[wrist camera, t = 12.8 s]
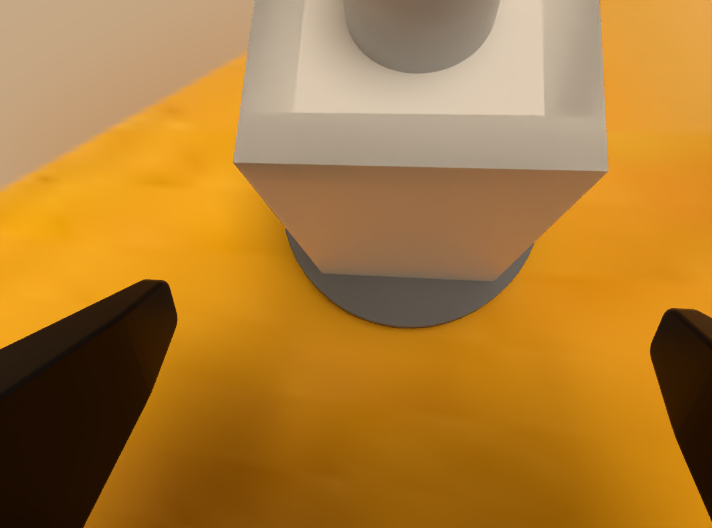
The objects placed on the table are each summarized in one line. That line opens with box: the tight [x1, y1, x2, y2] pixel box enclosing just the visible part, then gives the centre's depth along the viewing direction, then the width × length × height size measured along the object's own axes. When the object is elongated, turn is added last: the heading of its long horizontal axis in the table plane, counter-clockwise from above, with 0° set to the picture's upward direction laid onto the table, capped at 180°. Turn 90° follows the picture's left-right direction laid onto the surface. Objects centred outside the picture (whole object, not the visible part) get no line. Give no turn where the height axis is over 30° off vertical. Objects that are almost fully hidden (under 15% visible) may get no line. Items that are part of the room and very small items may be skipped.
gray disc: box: [285, 228, 534, 328], centre depth 19 cm, size 10×10×1 cm
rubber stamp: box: [233, 0, 608, 282], centre depth 12 cm, size 6×6×13 cm
